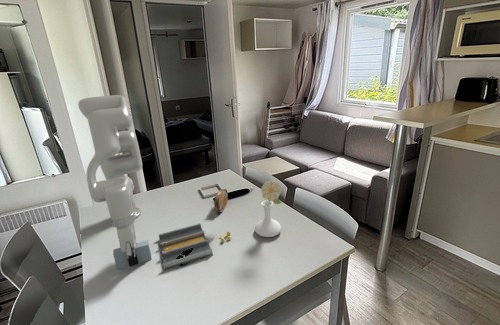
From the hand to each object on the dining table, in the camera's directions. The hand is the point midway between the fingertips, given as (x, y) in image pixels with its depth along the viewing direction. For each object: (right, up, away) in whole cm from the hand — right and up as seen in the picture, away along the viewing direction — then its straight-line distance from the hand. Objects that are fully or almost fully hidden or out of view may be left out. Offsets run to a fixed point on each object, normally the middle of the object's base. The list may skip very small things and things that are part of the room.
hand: (134, 258), depth 101 cm
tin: (+30, +13, +35) cm, 48 cm away
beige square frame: (+22, +20, +52) cm, 60 cm away
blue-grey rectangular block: (0, -2, +1) cm, 2 cm away
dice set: (+34, +4, +11) cm, 36 cm away
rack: (+18, +2, +7) cm, 19 cm away
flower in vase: (+52, +6, +13) cm, 54 cm away
